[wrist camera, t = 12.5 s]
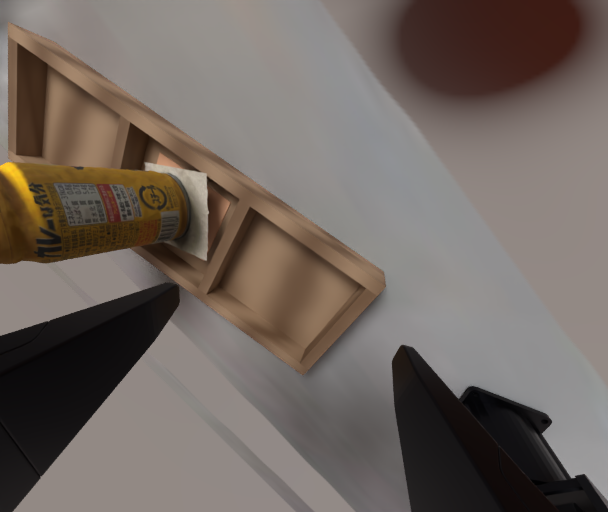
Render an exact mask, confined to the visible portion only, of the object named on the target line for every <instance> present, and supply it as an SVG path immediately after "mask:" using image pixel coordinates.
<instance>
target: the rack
mask: <svg viewBox="0 0 608 512" xmlns="http://www.w3.org/2000/svg"><path fill="white" fill-rule="evenodd" d="M8 156H9V157H8V158H9V159H10V160H11V161H13V162H20V163H35V164H48V165H64V166H77V167H79V166H81V167H94V168H95V167H102V168H109V169H111V168H113V169H124V170H126V169H128V170H142V171H146V170H145V163H144V162H147V163H153V164H158V165H164V166H169V167H174V168H180V169H185V170H190V171H196V172H202V173H207V190H208V195H207V207H208V211H209V214H208V251H207V261H206V260H203V259H201V258H198V257H196V256H195V255H193V254H190V253H188V252H185V251H182V250H180V249H179V248H177V247H175V246H172V245H170V244H168V243H165V242H160V243H155V244H148V245H143V246H137V247H132V248H130V249H132V250H133V251H135V252H136V253H137V254H139V255H140V256H141V257H143V258H144V259H145V260H147V261H148V262H149V263H151V264H152V265H154V266H155V267H156V268H158V269H159V270H160V271H162V272H163V273H164V274H166V275H167V276H168V277H170V278H171V279H173V280H174V281H175V282H177V283H178V284H179V285H181V286H182V287H183V288H185V289H186V290H187V291H189V292H190V293H192V294H193V295H194V296H196V297H197V298H198V299H200V300H201V301H202V302H204V303H205V304H207V305H208V306H209V307H211V308H212V309H213V310H215V311H216V312H217V313H219V314H220V315H221V316H223V317H224V318H226V319H227V320H228V321H230V322H231V323H232V324H234V325H235V326H236V327H238V328H239V329H240V330H242V331H243V332H245V333H246V334H247V335H249V336H250V337H251V338H253V339H254V340H255V341H257V342H258V343H259V344H261V345H262V346H264V347H265V348H266V349H268V350H269V351H270V352H272V353H273V354H274V355H276V356H277V357H278V358H280V359H281V360H283V361H284V362H285V363H287V364H288V365H289V366H291V367H292V368H293V369H295V370H296V371H297V372H299V373H300V374H302V375H304V374H305V373H306V372H307V371H308V370H309V369H310V368H311V367H312V365H313V364H314V363H315V362H316V361H317V360H318V359H319V358H320V357H321V356H322V355H323V354H324V353H325V351H326V350H327V349H328V348H329V347H330V346H331V345H332V344H333V343H334V342H335V341H336V340H337V339H338V338H339V336H340V335H341V334H342V333H343V332H344V331H345V330H346V329H347V328H348V327H349V326H350V325H351V324H352V323H353V321H354V320H355V319H356V318H357V317H358V316H359V315H360V314H361V313H362V312H363V311H364V310H365V309H366V308H367V306H368V305H369V304H370V303H371V302H372V301H373V300H374V299H375V298H376V297H377V296H378V295H379V294H380V293H381V291H382V290H383V289H384V288H385V287H386V284H385V277H384V272H383V271H382V270H380V269H379V268H378V267H376V266H375V265H373V264H372V263H370V262H369V261H368V260H366V259H365V258H363V257H362V256H360V255H359V254H357V253H356V252H355V251H353V250H352V249H350V248H349V247H347V246H346V245H345V244H343V243H342V242H340V241H339V240H337V239H336V238H335V237H333V236H332V235H330V234H329V233H327V232H326V231H325V230H323V229H322V228H320V227H319V226H317V225H316V224H314V223H313V222H312V221H310V220H309V219H307V218H306V217H304V216H303V215H302V214H300V213H299V212H297V211H296V210H294V209H293V208H292V207H290V206H289V205H287V204H286V203H284V202H283V201H282V200H280V199H279V198H277V197H276V196H274V195H273V194H271V193H270V192H269V191H267V190H266V189H264V188H263V187H261V186H260V185H259V184H257V183H256V182H254V181H253V180H251V179H250V178H249V177H247V176H246V175H244V174H243V173H241V172H240V171H239V170H237V169H236V168H234V167H233V166H231V165H230V164H229V163H227V162H226V161H224V160H223V159H221V158H220V157H218V156H217V155H216V154H214V153H213V152H211V151H210V150H208V149H207V148H206V147H204V146H203V145H201V144H200V143H198V142H197V141H196V140H194V139H193V138H191V137H190V136H188V135H187V134H186V133H184V132H183V131H181V130H180V129H178V128H177V127H175V126H174V125H173V124H171V123H170V122H168V121H167V120H165V119H164V118H163V117H161V116H160V115H158V114H157V113H155V112H154V111H153V110H151V109H150V108H148V107H147V106H145V105H144V104H143V103H141V102H140V101H138V100H137V99H135V98H134V97H132V96H131V95H130V94H128V93H127V92H125V91H124V90H122V89H121V88H120V87H118V86H117V85H115V84H114V83H112V82H111V81H110V80H108V79H107V78H105V77H104V76H102V75H101V74H100V73H98V72H97V71H95V70H94V69H92V68H91V67H89V66H88V65H87V64H85V63H84V62H82V61H81V60H79V59H78V58H77V57H75V56H74V55H72V54H71V53H69V52H68V51H67V50H65V49H64V48H62V47H61V46H59V45H58V44H57V43H55V42H53V41H51V40H49V39H46V38H44V37H42V36H39V35H37V34H35V33H32V32H30V31H28V30H26V29H23V28H21V27H19V26H16V25H14V24H12V23H9V22H8Z"/></svg>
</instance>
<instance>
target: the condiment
mask: <svg viewBox="0 0 608 512" xmlns="http://www.w3.org/2000/svg"><path fill="white" fill-rule="evenodd" d="M144 163H145V170H146V171H142V170H128V169H126V170H124V169H113V168H111V169H109V168H102V167H95V168H94V167H81V166H79V167H77V166H64V165H48V164H35V163H20V162H8V163H5V164H4V165H1V166H0V264H12V263H13V264H14V263H17V262H20V261H34V262H39V263H51V262H57V261H63V260H67V259H73V258H78V257H83V256H89V255H94V254H99V253H105V252H110V251H115V250H121V249H127V248H132V247H137V246H143V245H148V244H155V243H160V242H165V243H168V244H170V245H172V246H175V247H177V248H179V249H180V250H182V251H185V252H188V253H190V254H193V255H195V256H196V257H198V258H201V259H203V260H206V261H207V251H208V214H209V211H208V207H207V195H208V190H207V173H202V172H196V171H190V170H185V169H180V168H174V167H169V166H164V165H158V164H153V163H147V162H144Z"/></svg>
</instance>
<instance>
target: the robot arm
mask: <svg viewBox="0 0 608 512" xmlns="http://www.w3.org/2000/svg"><path fill="white" fill-rule="evenodd" d="M179 302H180V299H179V287H178V285H176V284H172V283H164V284H161V285H158V286H155V287H152V288H148V289H145V290H142V291H139V292H136V293H133V294H130V295H127V296H124V297H121V298H118V299H114V300H111V301H108V302H105V303H102V304H99V305H96V306H93V307H90V308H87V309H84V310H80V311H77V312H74V313H71V314H68V315H65V316H62V317H59V318H56V319H53V320H50V321H49V322H48V321H47V322H43V323H40V324H37V325H34V326H31V327H28V328H24V329H21V330H18V331H15V332H12V333H8V334H5V335H2V336H0V512H13V511H14V509H15V508H16V507H17V506H18V505H19V503H20V502H21V501H22V500H23V499H24V497H25V496H26V495H27V494H28V493H29V491H30V490H31V489H32V488H33V487H34V485H35V484H36V483H37V482H38V481H39V479H40V476H42V475H43V474H44V473H45V472H46V471H47V470H48V468H49V467H50V466H51V465H52V463H53V462H54V461H55V460H56V459H57V457H58V456H59V455H60V454H61V453H62V451H63V450H64V449H65V448H66V447H67V445H68V444H69V443H70V442H71V441H72V439H73V438H74V437H75V436H76V435H77V433H78V432H79V431H80V430H81V429H82V427H83V426H84V425H85V424H86V423H87V421H88V420H89V419H90V418H91V417H92V415H93V414H94V413H95V412H96V411H97V409H98V408H99V407H100V406H101V405H102V403H103V402H104V401H105V400H106V399H107V397H108V396H109V395H110V394H111V393H112V391H113V390H114V389H115V387H117V385H118V384H119V383H120V382H121V381H122V379H123V378H124V377H125V376H126V374H127V373H128V372H129V371H130V370H131V368H132V367H133V366H134V365H135V364H136V362H137V361H138V360H139V359H140V358H141V357H142V355H143V354H144V353H145V352H146V351H147V349H148V348H149V347H150V346H151V344H152V343H153V342H154V341H155V339H156V338H157V337H158V335H159V334H160V332H161V331H162V329H163V328H164V326H165V325H166V323H167V322H168V321H169V319H170V318H171V316H172V315H173V313H174V312H175V310H176V309H177V307H178V305H179ZM392 373H393V391H394V405H395V413H396V419H397V425H398V431H399V438H400V444H401V450H402V456H403V462H404V469H405V475H406V481H407V487H408V494H409V500H410V506H411V512H608V501H607V500H606V499H605V497H604V496H603V495H602V494H601V493H600V492H599V490H598V489H597V488H596V487H595V486H594V485H593V483H592V482H591V481H590V480H589V479H588V478H587V476H586V475H585V474H582V475H577V476H575V477H576V478H572V479H571V477H570V476H569V474H568V473H567V471H566V470H565V468H564V467H563V465H562V464H561V462H560V461H559V459H558V458H557V456H556V455H555V453H554V452H553V450H552V449H551V447H550V446H549V444H548V443H547V441H546V440H545V438H544V437H543V435H542V433H543V432H544V431H545V430H546V429H547V428H548V427H549V426H550V425H551V424H552V420H551V419H550V418H549V416H548V415H547V414H545V413H543V412H540V411H537V410H535V409H532V408H530V407H527V406H524V405H522V404H519V403H517V402H514V401H511V400H509V399H506V398H504V397H501V396H499V395H496V394H493V393H491V392H488V391H486V390H483V389H480V388H478V387H474V386H472V387H469V388H468V389H467V390H466V392H465V393H464V395H463V396H462V397H461V399H460V400H459V399H458V398H457V397H456V396H455V395H454V393H453V392H452V391H451V390H450V389H449V388H448V387H447V385H446V384H445V383H444V382H443V381H442V380H441V379H440V377H439V376H438V375H437V374H436V373H435V372H434V371H433V370H432V368H431V367H430V366H429V365H428V364H427V363H426V362H425V360H424V359H423V358H422V357H421V356H420V355H419V354H418V352H417V351H416V350H415V349H414V348H413V347H410V346H406V345H401V346H400V347H399V349H398V351H397V353H396V354H395V356H394V358H393V361H392ZM474 392H476V393H474Z"/></svg>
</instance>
